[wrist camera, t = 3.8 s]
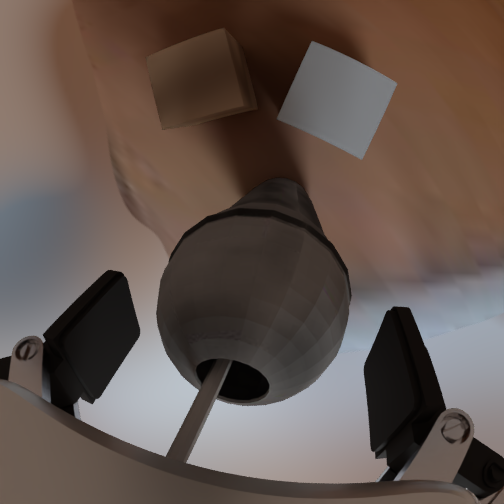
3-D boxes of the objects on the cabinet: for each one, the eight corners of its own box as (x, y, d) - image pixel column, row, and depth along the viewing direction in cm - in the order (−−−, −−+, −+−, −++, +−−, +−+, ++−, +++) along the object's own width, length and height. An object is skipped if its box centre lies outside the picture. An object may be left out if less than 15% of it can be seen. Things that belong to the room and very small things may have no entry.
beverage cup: (342, 232, 21) (386, 542, 3) (258, 262, 23) (170, 527, 6) (305, 143, 18) (295, 567, 1) (216, 184, 21) (-11, 415, 3)
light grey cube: (309, 59, 15) (311, 40, 11) (375, 91, 15) (397, 83, 11) (282, 119, 18) (276, 119, 13) (347, 150, 18) (361, 159, 13)
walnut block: (179, 67, 17) (145, 57, 12) (242, 47, 16) (223, 27, 11) (193, 125, 19) (162, 129, 15) (258, 109, 18) (243, 105, 13)
